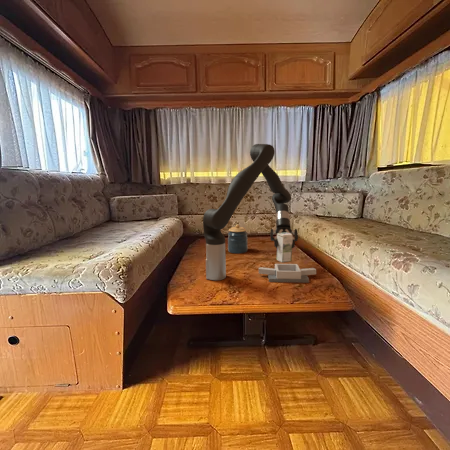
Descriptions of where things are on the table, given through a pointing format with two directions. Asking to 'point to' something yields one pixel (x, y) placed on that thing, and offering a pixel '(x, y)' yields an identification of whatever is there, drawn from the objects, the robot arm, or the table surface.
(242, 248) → the canister
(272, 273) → the base
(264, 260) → the table surface
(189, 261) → the table surface
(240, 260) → the table surface
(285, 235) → the syrup box
